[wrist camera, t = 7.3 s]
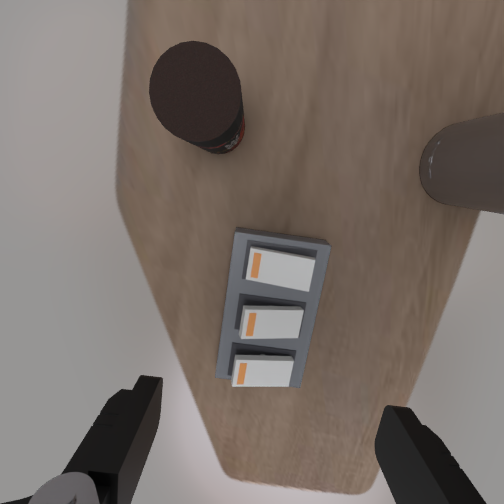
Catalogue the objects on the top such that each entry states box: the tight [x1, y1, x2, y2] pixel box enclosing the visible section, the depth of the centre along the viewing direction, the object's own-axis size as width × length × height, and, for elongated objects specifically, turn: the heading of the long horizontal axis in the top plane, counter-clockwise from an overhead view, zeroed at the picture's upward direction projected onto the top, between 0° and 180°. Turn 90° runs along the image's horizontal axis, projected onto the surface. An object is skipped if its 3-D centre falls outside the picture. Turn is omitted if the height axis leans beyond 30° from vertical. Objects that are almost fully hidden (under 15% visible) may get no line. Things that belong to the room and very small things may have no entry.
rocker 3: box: [231, 354, 294, 387], centre depth 37 cm, size 7×4×2 cm, turn 82°
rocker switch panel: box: [215, 227, 331, 388], centre depth 38 cm, size 11×19×3 cm, turn 172°
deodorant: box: [149, 41, 245, 154], centre depth 27 cm, size 6×6×15 cm
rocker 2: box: [239, 305, 304, 339], centre depth 36 cm, size 7×4×2 cm, turn 82°
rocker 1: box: [246, 246, 315, 292], centre depth 34 cm, size 7×4×2 cm, turn 82°
